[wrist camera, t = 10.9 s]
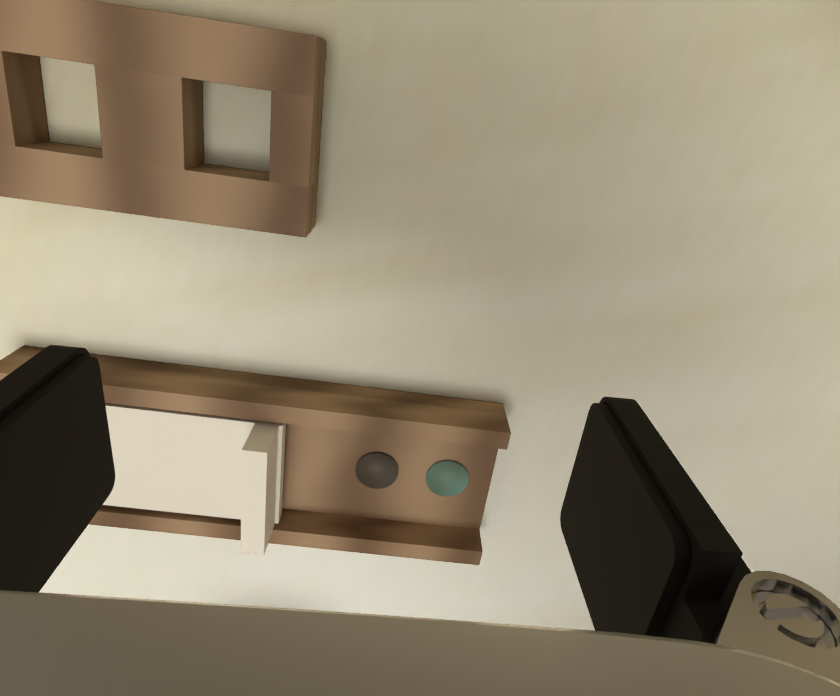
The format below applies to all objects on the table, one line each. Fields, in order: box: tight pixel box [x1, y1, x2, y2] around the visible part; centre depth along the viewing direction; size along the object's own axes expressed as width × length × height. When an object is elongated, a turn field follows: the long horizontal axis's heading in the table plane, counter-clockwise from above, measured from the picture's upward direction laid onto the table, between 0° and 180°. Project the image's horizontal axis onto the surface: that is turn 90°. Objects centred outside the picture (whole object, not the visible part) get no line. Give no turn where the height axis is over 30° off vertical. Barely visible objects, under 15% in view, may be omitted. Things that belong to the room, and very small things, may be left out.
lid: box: [103, 403, 286, 555], centre depth 29 cm, size 14×6×3 cm, turn 82°
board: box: [0, 346, 511, 565], centre depth 31 cm, size 26×9×3 cm, turn 82°
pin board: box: [0, 0, 326, 237], centre depth 24 cm, size 14×8×2 cm, turn 82°
